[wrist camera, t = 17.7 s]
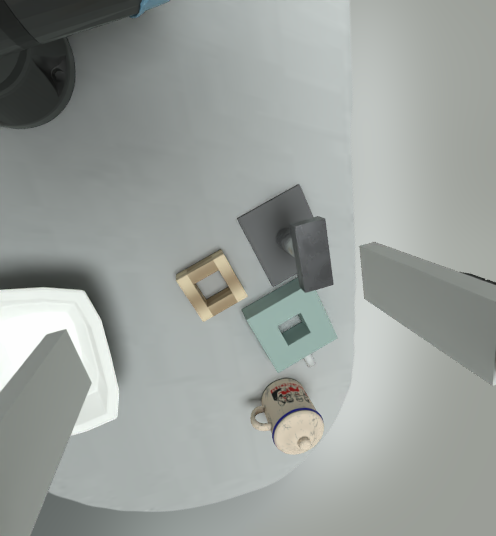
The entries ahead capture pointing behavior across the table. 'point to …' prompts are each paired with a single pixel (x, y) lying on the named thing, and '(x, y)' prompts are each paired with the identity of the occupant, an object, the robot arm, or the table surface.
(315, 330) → the block
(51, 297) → the bowl
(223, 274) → the beige square frame
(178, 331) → the table surface
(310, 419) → the teacup with lid
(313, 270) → the block
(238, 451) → the table surface
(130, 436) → the table surface
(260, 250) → the mat
